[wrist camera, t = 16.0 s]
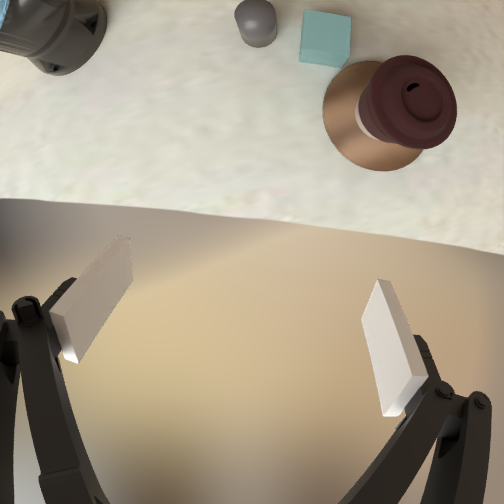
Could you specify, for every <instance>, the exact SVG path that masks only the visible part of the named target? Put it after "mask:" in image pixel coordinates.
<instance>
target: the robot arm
mask: <svg viewBox="0 0 504 504" xmlns="http://www.w3.org/2000/svg"><path fill="white" fill-rule="evenodd" d="M105 29H106V13H105V10H104V9H103V7H102V6H101V5H100V4H99V3H97V2H96V1H94V0H0V51H2V52H7V53H11V54H15V55H19V56H24V57H27V58H28V59H29V60H30V61H31V62H32V63H33V64H34V65H35V66H36V67H37V68H38V69H39V70H41V71H42V72H44V73H47V74H51V75H55V76H61V75H66V74H69V73H71V72H73V71H75V70H77V69H78V68H80V67H81V66H82V65H83V64H84V63H86V62H87V61H88V60H89V58H90V57H91V56H92V55H93V54H94V52H95V51H96V49H97V48H98V46H99V44H100V43H101V41H102V38H103V36H104V33H105ZM132 281H133V272H132V258H131V240H130V238H128V237H121V236H117V237H116V238H115V239H114V240H113V241H112V242H111V243H110V244H109V245H108V247H106V249H105V250H104V251H103V252H102V253H101V254H100V255H99V256H98V257H97V258H96V259H95V260H94V261H93V262H92V263H91V264H90V265H89V266H88V268H87V269H86V270H85V271H84V272H83V273H82V274H81V275H80V276H79V277H78V278H73V277H72V278H70V279H68V280H66V281H64V282H63V283H62V284H61V285H60V286H59V287H58V289H57V290H56V291H55V292H54V293H53V295H51V296H50V297H49V298H48V299H47V301H46V302H45V303H44V304H43V305H42V306H40V303H39V301H38V299H37V298H35V297H33V296H25V297H22V298H19V299H18V300H16V301H15V302H14V304H13V305H12V312H13V315H14V317H15V320H8V319H6V318H5V315H4V313H3V312H2V311H0V504H14V478H13V450H14V428H15V427H14V426H15V414H16V403H17V394H18V386H19V379H20V372H21V377H22V384H23V392H24V398H25V404H26V410H27V416H28V421H29V426H30V430H31V435H32V439H33V444H34V448H35V452H36V455H37V459H38V463H39V466H40V470H41V474H40V475H39V484H40V488H41V491H42V494H43V497H44V500H45V503H46V504H110V502H109V501H108V499H107V498H106V496H105V494H104V492H103V490H102V488H101V486H100V484H99V482H98V479H97V477H96V475H95V472H94V470H93V467H92V465H91V463H90V460H89V457H88V455H87V452H86V449H85V447H84V444H83V441H82V438H81V436H80V433H79V430H78V427H77V424H76V420H75V417H74V414H73V411H72V407H71V404H70V401H69V397H68V393H67V390H66V386H65V382H64V378H63V374H62V370H61V366H60V361H59V358H58V354H59V353H60V351H61V350H62V352H63V355H64V358H65V359H67V360H70V361H73V362H75V363H80V361H81V359H82V358H83V356H84V355H85V353H86V351H87V350H88V348H89V347H90V345H91V343H92V342H93V340H94V338H95V337H96V335H97V334H98V332H99V331H100V329H101V327H102V326H103V325H104V323H105V322H106V320H107V319H108V317H109V316H110V314H111V313H112V311H113V309H114V308H115V307H116V305H117V303H118V302H119V301H120V299H121V298H122V296H123V295H124V293H125V292H126V290H127V289H128V287H129V286H130V285H131V283H132ZM361 321H362V325H363V329H364V333H365V336H366V340H367V345H368V349H369V353H370V357H371V361H372V366H373V370H374V375H375V380H376V384H377V389H378V394H379V399H380V404H381V409H382V414H383V416H399V414H400V413H401V412H402V411H403V410H404V409H405V413H406V417H405V418H404V419H403V420H402V421H401V422H400V424H399V425H398V426H397V427H396V431H395V432H394V434H393V435H392V436H391V438H390V439H389V441H388V442H387V444H386V445H385V446H384V448H383V449H382V450H381V452H380V453H379V454H378V456H377V457H376V458H375V460H374V461H373V462H372V464H371V465H370V466H369V467H368V469H367V470H366V471H365V472H364V474H363V475H362V476H361V477H360V479H359V480H358V481H357V482H356V483H355V485H354V486H353V487H352V488H351V489H350V490H349V492H348V493H347V494H346V495H345V496H344V497H343V499H342V500H341V501H340V502H339V503H338V504H398V502H399V501H400V499H401V498H402V496H403V495H404V493H405V492H406V490H407V489H408V487H409V485H410V484H411V482H412V481H413V479H414V478H415V476H416V474H417V472H418V471H419V469H420V467H421V466H422V464H423V462H424V460H425V459H426V457H427V455H428V453H429V451H430V449H431V448H432V446H433V444H434V442H435V440H436V438H437V442H436V447H435V452H434V456H433V460H432V464H431V468H430V472H429V476H428V479H427V483H426V486H425V490H424V493H423V496H422V500H421V503H420V504H483V499H484V492H485V487H486V480H487V472H488V462H489V453H490V440H491V417H492V415H491V414H492V406H491V401H490V400H489V398H488V397H487V396H486V395H485V394H483V393H482V392H478V391H475V392H473V393H472V394H471V395H470V396H469V397H468V398H467V397H463V396H460V395H456V394H455V392H454V390H453V388H452V387H451V386H450V385H449V384H448V383H446V382H444V381H441V378H440V376H439V373H438V370H437V368H436V365H435V363H434V360H433V359H432V355H431V353H430V350H429V348H428V345H427V343H426V342H425V341H424V340H423V338H422V337H421V336H420V335H413V334H412V331H411V329H410V326H409V324H408V322H407V319H406V317H405V315H404V312H403V310H402V307H401V305H400V302H399V300H398V298H397V296H396V293H395V291H394V289H393V287H392V284H391V282H390V281H386V280H380V279H377V281H376V284H375V286H374V289H373V291H372V294H371V296H370V299H369V301H368V304H367V306H366V309H365V311H364V313H363V316H362V318H361ZM437 436H438V437H437Z"/></svg>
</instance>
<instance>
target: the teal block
mask: <svg viewBox="0 0 504 504" xmlns="http://www.w3.org/2000/svg"><path fill="white" fill-rule="evenodd" d="M350 37H351V17H348V16H343V15H338V14H332V13H326V12H319V11H312V10H304V17H303V23H302V33H301V45H300V57H299V62H305V63H313V64H320V65H326V66H332V67H338V68H342V66H343V65H344V63H345V62H346V60H347V59H348V58H349V56H350Z"/></svg>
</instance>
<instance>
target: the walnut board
mask: <svg viewBox="0 0 504 504" xmlns="http://www.w3.org/2000/svg"><path fill="white" fill-rule="evenodd" d="M382 64H383V63H382V62H375V61H366V62H360V63H356V64H353V65H351V66H349V67H347V68H345V69H344V70H342V71H341V72H340V73H339V74H338V75H337V76H336V77H335V78H334V79H333V80H332V82H331V84H330V85H329V87H328V89H327V91H326V94H325V97H324V101H323V119H324V124H325V128H326V131H327V133H328V136H329V137H330V139H331V141H332V143H333V144H334V146H335V147H336V148H337V149H338V151H339V152H340V153H341V154H342V155H343V156H345V157H346V158H347V159H348V160H350V161H351V162H353V163H354V164H356V165H358V166H360V167H363V168H366V169H370V170H375V171H392V170H397V169H400V168H403V167H405V166H407V165H408V164H410V163H411V162H413V161H414V160H415V159H416V158H417V157H418V156H419V155H420V154H421V152H422V151H423V149H411V148H406V147H403V146H401V145H399V144H395V143H387V142H383V141H380V140H376V139H373V138H371V137H369V136H367V135H366V134H365V133H364V132H363V131H362V130H361V129H360V127H359V125H358V123H357V121H356V117H355V106H356V103H357V101H358V99H359V98H360V96H361V94H362V92H363V90H364V89H365V88H366V87H367V85H368V84H369V82H370V79H371V77H372V75H373V73H374V72H375V71H376V69H377V68H378V67H379V66H380V65H382Z"/></svg>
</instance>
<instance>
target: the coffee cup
mask: <svg viewBox="0 0 504 504" xmlns="http://www.w3.org/2000/svg"><path fill="white" fill-rule="evenodd" d="M355 117H356V121H357V123H358V125H359V127H360V129H361V130H362V131H363V132H364V133H365V134H366V135H367V136H369V137H371V138H373V139H376V140H380V141H383V142H387V143H395V144H399V145H401V146H403V147H406V148H411V149H429V148H433V147H435V146H438V145H439V144H441V143H442V142H444V141H445V140H446V139H447V138H448V137H449V135H450V134H451V132H452V130H453V128H454V126H455V122H456V117H457V104H456V99H455V96H454V92H453V90H452V87H451V86H450V84H449V82H448V80H447V79H446V77H445V76H444V75H443V74H442V73H441V72H440V71H439V70H438V69H437V68H436V67H435V66H434V65H432V64H431V63H429V62H427V61H426V60H423V59H421V58H418V57H415V56H409V55H401V56H396V57H393V58H390V59H388V60H387V61H385V62H384V63H383V64H382V65H380V66H379V67H378V68H377V69H376V71H375V72H374V73H373V75H372V77H371V79H370V82H369V84H368V85H367V87H366V88H365V89H364V90H363V92H362V94H361V96H360V98H359V99H358V101H357V103H356V106H355Z"/></svg>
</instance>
